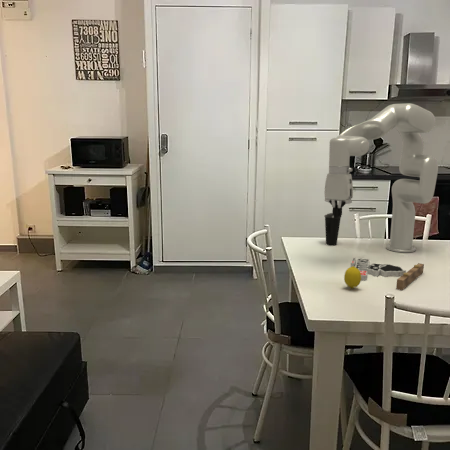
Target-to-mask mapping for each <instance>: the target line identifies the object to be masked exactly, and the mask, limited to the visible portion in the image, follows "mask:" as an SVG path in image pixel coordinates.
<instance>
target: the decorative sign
mask: <svg viewBox="0 0 450 450" xmlns="http://www.w3.org/2000/svg"><path fill="white" fill-rule="evenodd" d="M370 261H371V260H370V259H368V258H356V257H352V259H351V262H350V267H352V266H354V267H356V268H357V269H358V270H359V271H360V273H361V281H360V282H362V281H363V282H366V281H368V275H370V276H373V277H379V276H382V277H384V278H389V277H390V278H391V277H393V278H395V277H396V278H400V277H401V276H402V275H403V274H404V273H406V272H407V270H405V269H404V268H402V266H399V265H394V264H389V263H376V262H375V263H371V262H370Z"/></svg>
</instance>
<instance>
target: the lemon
mask: <svg viewBox="0 0 450 450" xmlns="http://www.w3.org/2000/svg"><path fill="white" fill-rule="evenodd" d="M343 276H344V277H343V278H344V279H343V280H344V283H345V285H346V286H347V287H349V288H350V289H352V290H353V289H354V288H356V287H358V286H359V285H360V284H361V282H362V281H361V273H360V271H359V270H358V269H357V268H356V267H354V266H352V267H351V266H350V267H348V268H347V269H346V270H345V272H344V275H343Z"/></svg>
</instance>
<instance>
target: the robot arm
mask: <svg viewBox="0 0 450 450" xmlns="http://www.w3.org/2000/svg"><path fill="white" fill-rule="evenodd" d="M436 121H437V120H436V117H435V115H434V114H433V112H431V111H430V110H428V109H426V108H424V107H421V106H420V105H417V104H415V103H409V102H408V103H406V102H405V103H393V104H389V105H387V106H386V107H384V108H383V109H382V110H381V111H379V112H378V113H376V115H374V116H372V117H371V118H370V119H367V120H365V121H363V122H361V123H358V124H355V125H353V126H351V127H348V128H346V129H345V130H344V131H343V132H341V133H340V134H339V135H337V137H332V138H330V141H329V153H328V155H329V160H328V173H326V178H325V183H324V201H325V202H327V203H329V204H330V205H331V207H332V210H333V215H334V218H340V217H341V218H342V215H343V208H344V207H345V206H346V205H350V204H351V203H353V202H352V199H353V198H354V197H353V196H354V186H353V177H352V174H351V172H353V170H354V169H353V167H350V166H351V165H350V159H351V158H350V157H361V156H364V155H366V154H367V153H368V151H369V150H370V142H369V141H372V140H377V139H380V138H383V137H384V136H385V135H387V134H388V133H389V132H390V131H391V130H393V129H394V128H395V129H396V131H397V132H398V133H399V134H400V137H401V141H402V147H401V151H400V152H401V153H400V159H399V173H400V175H403V176H408V177H415V178H416V177H417V178H419V180H417V179H411V178H400V179H397V180H395V181H394V183H393V184H392V186H391V197H392V212H391V224H390V235H389V236H390V237H389V243H387V244H386V245H385V248H386V249H387V250H389V251H391V252H396V253H413V252H416V250H417V249H416V246H415V245H413V243H414V231H415V223H416V222H415V220H416V207H415V205H414V203H417V204H428V203H430V202H431V201H432V199H433V197H434V195H435V189H436V184H437V178H438V172H439V162H438V159H437V158H436V157H435V156H433V155H429V154H423V153H424V139H423V137H422V135H421V134H427V133H429V132H431V131H433V129H434V128H435V126H436Z"/></svg>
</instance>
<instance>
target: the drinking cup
mask: <svg viewBox="0 0 450 450" xmlns="http://www.w3.org/2000/svg"><path fill="white" fill-rule="evenodd" d="M331 210H332V211H331V212H330V213H329V212H328V213H327V214H325V215H324V222H325V223H324V227H325V244H327V245H326V246H330V247H331V246H332V247H333V246H337V244H338V238H339V231H340V224H341V219H342V216H341V217H340V218H334V215H333V209H331Z"/></svg>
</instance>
